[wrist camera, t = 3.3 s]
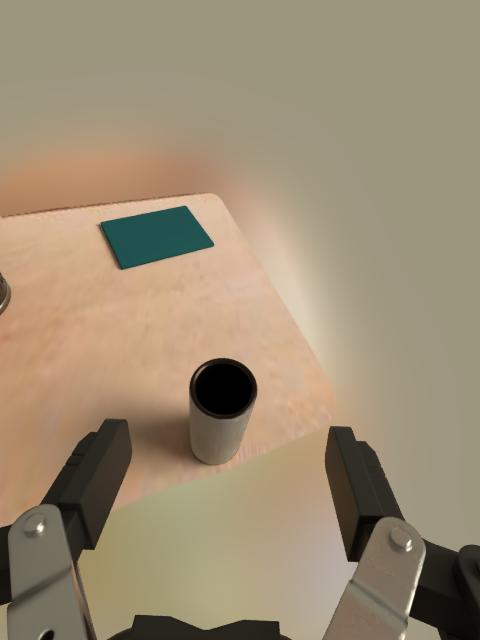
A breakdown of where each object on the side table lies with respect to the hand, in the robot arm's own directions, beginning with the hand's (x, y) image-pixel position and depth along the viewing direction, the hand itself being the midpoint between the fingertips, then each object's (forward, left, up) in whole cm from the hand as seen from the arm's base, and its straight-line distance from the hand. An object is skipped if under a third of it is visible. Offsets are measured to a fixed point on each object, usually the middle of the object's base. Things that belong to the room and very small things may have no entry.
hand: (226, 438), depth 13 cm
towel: (+8, +34, -17) cm, 39 cm away
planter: (+3, +5, -17) cm, 18 cm away
